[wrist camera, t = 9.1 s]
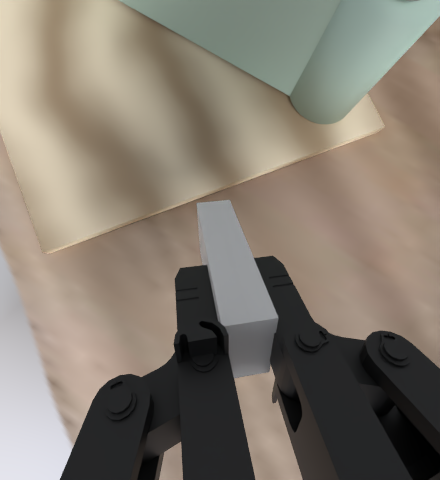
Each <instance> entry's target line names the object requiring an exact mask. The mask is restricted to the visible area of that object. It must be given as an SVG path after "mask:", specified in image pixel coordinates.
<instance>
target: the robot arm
mask: <svg viewBox="0 0 440 480" xmlns="http://www.w3.org/2000/svg"><path fill="white" fill-rule="evenodd" d="M197 216H198V229H199V242H200V253H201V258H202V264H203V265H202V266H194V267H186V268H180V270H179V272H178V274H177V276H176V278H175V290H176V310H177V329H178V331H177V333H176V334H175V340H174V348H175V353H174V354H173V356H172V358H171V359H170V360H169V361H168V362H167V363H166V364H165V365H163V366H162V367H160V368H159V369H157V370H155V371H153V372H151V373H149V374H147V375H145V376H143V377H139V376H136V375H132V374H126V375H120V376H117V377H115V378H113V379H111V380H109V381H108V382H107V383H106V384H105V385H104V386H103V387H102V388H101V389H99V391H98V393H97V394H96V396H95V398H94V399H93V401H92V404H91V406H90V408H89V411H88V413H87V416H86V418H85V420H84V423H83V425H82V428H81V430H80V433H79V435H78V437H77V440H76V442H75V445H74V447H73V449H72V452H71V455H70V457H69V459H68V462H67V464H66V466H65V469H64V471H63V473H62V476H61V478H60V480H159V476H160V471H161V466H162V461H163V456H164V452H165V451H167V450H168V449H170V448H171V447H173V446H174V445H176V444H178V443H179V442H181V445H182V465H183V480H255V476H254V471H253V466H252V462H251V457H250V452H249V447H248V443H247V438H246V433H245V429H244V424H243V419H242V414H241V410H240V405H239V400H238V396H237V391H236V386H235V381H234V378H238V377H244V376H249V375H255V374H261V373H266V372H269V370H270V364H271V366H272V369H273V372H274V375H275V382H274V387H273V392H272V401H273V403H276V401H277V399H278V402H279V405H280V408H281V412H282V415H283V418H284V421H285V424H286V427H287V431H288V434H289V437H290V440H291V443H292V446H293V450H294V453H295V456H296V459H297V462H298V465H299V469H300V472H301V475H302V478H303V480H440V368H438V367H437V366H436V365H435V364H434V363H433V362H432V361H431V360H430V359H428V358H427V357H426V356H425V355H424V354H423V353H422V352H421V351H420V350H418V349H417V348H416V347H415V346H414V345H413V344H412V343H410V342H409V341H408V340H406V339H405V338H403V337H402V336H400V335H397V334H395V333H392V332H388V331H377V332H373V333H372V334H370V335H369V336H368V337H367V339H366V341H365V340H358V339H351V338H344V337H339V336H335V335H332V334H330V333H328V331H327V330H326V329H325V328H323V327H322V326H320V325H319V324H317V323H315V322H314V320H313V319H312V318H311V316H310V314H309V312H308V310H307V308H306V306H305V304H304V303H303V301H302V299H301V297H300V295H299V293H298V291H297V289H296V288H295V286H294V285H293V282H292V280H291V278H290V277H289V274H288V273H287V271H286V269H285V267H284V265H283V264H282V263H281V262H280V261H279V260H277V259H276V258H275V257H274V256H268V257H260V258H254V257H253V255H252V253H251V250H250V248H249V245H248V243H247V241H246V238H245V236H244V233H243V231H242V229H241V226H240V224H239V221H238V219H237V216H236V214H235V212H234V209H233V207H232V204H231V202H230V200H223V201H212V202H202V203H197Z"/></svg>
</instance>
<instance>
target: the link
mask: <svg viewBox="0 0 440 480" xmlns="http://www.w3.org/2000/svg"><path fill="white" fill-rule="evenodd" d="M119 1H120V2H122V3H124V4H126V5H128V6H129V7H131V8H133V9H135V10H137V11H138V12H140V13H142V14H144V15H145V16H147V17H149V18H151V19H153V20H154V21H156V22H158V23H160V24H162V25H163V26H165V27H167V28H169V29H170V30H172V31H174V32H176V33H178V34H179V35H181V36H183V37H185V38H187V39H188V40H190V41H192V42H194V43H195V44H197V45H199V46H201V47H203V48H204V49H206V50H208V51H210V52H212V53H213V54H215V55H217V56H219V57H220V58H222V59H224V60H226V61H228V62H229V63H231V64H233V65H235V66H237V67H238V68H240V69H242V70H244V71H245V72H247V73H249V74H251V75H253V76H254V77H256V78H258V79H260V80H262V81H263V82H265V83H267V84H269V85H271V86H272V87H274V88H276V89H278V90H279V91H281V92H283V93H285V94H287V95H288V96H290V99H291V102H292V104H293V106H294V108H295V109H296V110H297V112H298V113H299V114H300V115H302V116H303V117H304V118H306V119H307V120H309V121H311V122H314V123H317V124H333V123H336V122H338V121H340V120H342V119H343V118H344V117H345V116H346V115H347V114H348V113H349V112H350V111H351V110H352V109H353V108H354V107H355V105H356V104H357V103H358V102H359V101H360V100H361V99H362V98H363V97H364V96H365V95H366V94H367V93H368V92H369V91H370V90H371V88H372V87H373V86H374V85H375V84H376V83H377V82H378V81H379V80H380V79H381V78H382V77H383V76H384V75H385V74H386V72H387V71H388V70H389V69H390V68H391V67H392V66H393V65H394V64H395V63H396V62H397V61H398V60H399V59H400V58H401V57H402V55H403V54H404V53H405V52H406V51H407V50H408V49H409V48H410V47H411V46H412V45H413V44H414V43H415V42H416V41H417V39H418V38H419V37H420V36H421V35H422V34H423V33H424V32H425V31H426V30H427V29H428V28H429V27H430V26H431V25H432V24H433V22H434V21H435V20H436V19H437V18H438V17H439V16H440V0H419V1H406V0H119Z"/></svg>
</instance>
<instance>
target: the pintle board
mask: <svg viewBox="0 0 440 480" xmlns="http://www.w3.org/2000/svg"><path fill="white" fill-rule="evenodd" d="M406 1H419V0H406ZM384 127H385V126H384V124H383V122H382V120H381V118H380V116H379V114H378V112H377V110H376V108H375V106H374V104H373V102H372V100H371V98H370V96H369V94H368V93H367V94H366V95H365V96H364V97H363V98H362V99H361V100H360V101H359V102H358V103H357V104H356V105H355V107H354V108H353V109H352V110H351V111H350V112H349V113H348V114H347V115H346V116H345V117H344V118H343V119H342V120H340V121H338V122H336V123H333V124H317V123H314V122H311V121H309V120H307V119H306V118H304V117H303V116H302V115H300V114H299V113H298V112H297V110H296V109H295V108H294V106H293V104H292V102H291V99H290V96H288V95H287V94H285V93H283V92H281V91H279V90H278V89H276V88H274V87H272V86H271V85H269V84H267V83H265V82H263V81H262V80H260V79H258V78H256V77H254V76H253V75H251V74H249V73H247V72H245V71H244V70H242V69H240V68H238V67H237V66H235V65H233V64H231V63H229V62H228V61H226V60H224V59H222V58H220V57H219V56H217V55H215V54H213V53H212V52H210V51H208V50H206V49H204V48H203V47H201V46H199V45H197V44H195V43H194V42H192V41H190V40H188V39H187V38H185V37H183V36H181V35H179V34H178V33H176V32H174V31H172V30H170V29H169V28H167V27H165V26H163V25H162V24H160V23H158V22H156V21H154V20H153V19H151V18H149V17H147V16H145V15H144V14H142V13H140V12H138V11H137V10H135V9H133V8H131V7H129V6H128V5H126V4H124V3H122V2H120V1H119V0H0V132H1V135H2V138H3V141H4V144H5V147H6V150H7V152H8V155H9V158H10V161H11V164H12V167H13V170H14V173H15V175H16V178H17V181H18V184H19V187H20V190H21V193H22V195H23V198H24V201H25V204H26V207H27V210H28V213H29V215H30V218H31V221H32V224H33V227H34V230H35V233H36V236H37V238H38V241H39V244H40V247H41V250H42V253H47V254H50V253H53V252H55V251H58V250H61V249H64V248H66V247H69V246H72V245H74V244H77V243H80V242H82V241H85V240H88V239H91V238H93V237H96V236H99V235H101V234H104V233H107V232H109V231H112V230H115V229H118V228H120V227H123V226H126V225H128V224H131V223H134V222H137V221H139V220H142V219H145V218H147V217H150V216H153V215H155V214H158V213H161V212H164V211H166V210H169V209H172V208H174V207H177V206H180V205H183V204H185V203H188V202H191V201H193V200H196V199H199V198H201V197H204V196H207V195H210V194H212V193H215V192H218V191H220V190H223V189H226V188H228V187H231V186H234V185H237V184H239V183H242V182H245V181H247V180H250V179H253V178H256V177H258V176H261V175H264V174H266V173H269V172H272V171H274V170H277V169H280V168H283V167H285V166H288V165H291V164H293V163H296V162H299V161H302V160H304V159H307V158H310V157H312V156H315V155H318V154H320V153H323V152H326V151H329V150H331V149H334V148H337V147H339V146H342V145H345V144H347V143H350V142H353V141H356V140H358V139H361V138H364V137H366V136H369V135H372V134H375V133H377V132H379V131H380V130H381V129H383V128H384Z"/></svg>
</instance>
